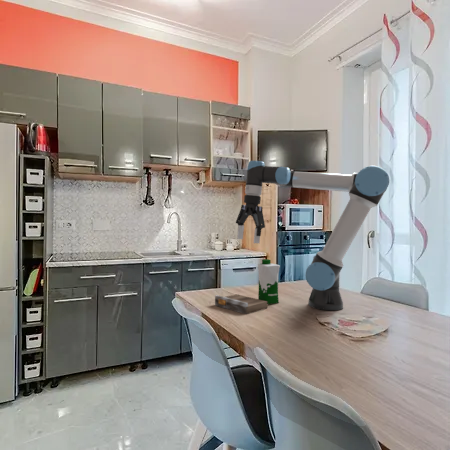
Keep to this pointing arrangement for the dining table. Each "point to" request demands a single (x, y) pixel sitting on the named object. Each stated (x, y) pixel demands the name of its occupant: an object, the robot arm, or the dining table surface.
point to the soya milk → (268, 281)
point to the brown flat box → (240, 303)
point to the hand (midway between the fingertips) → (247, 241)
